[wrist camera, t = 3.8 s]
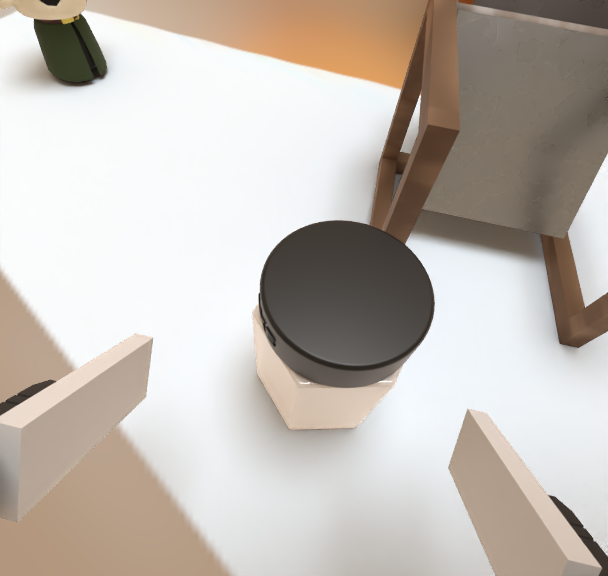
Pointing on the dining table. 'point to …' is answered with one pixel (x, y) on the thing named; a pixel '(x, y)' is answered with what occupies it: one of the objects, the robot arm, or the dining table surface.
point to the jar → (338, 321)
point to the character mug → (63, 37)
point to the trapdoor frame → (437, 144)
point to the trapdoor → (527, 116)
